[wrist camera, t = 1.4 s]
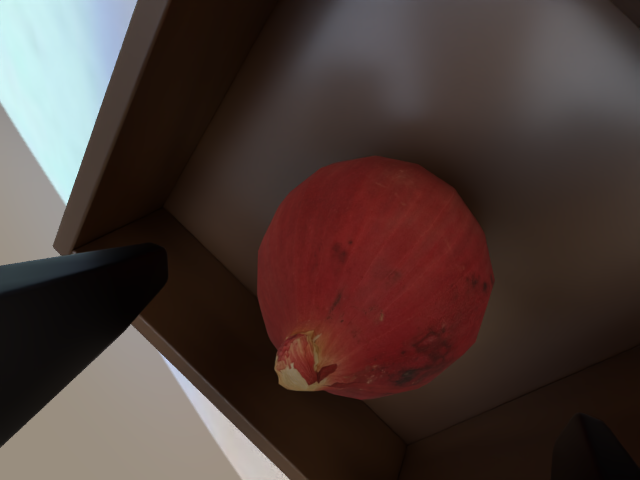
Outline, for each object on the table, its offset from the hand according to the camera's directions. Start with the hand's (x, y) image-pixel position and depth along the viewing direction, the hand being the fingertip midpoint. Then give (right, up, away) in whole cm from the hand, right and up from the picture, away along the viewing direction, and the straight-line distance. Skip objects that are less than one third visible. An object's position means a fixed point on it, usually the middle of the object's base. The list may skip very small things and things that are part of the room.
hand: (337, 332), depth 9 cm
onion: (+3, +3, +5) cm, 6 cm away
